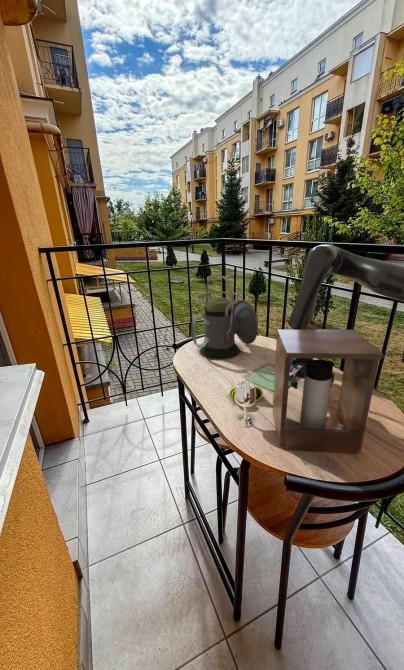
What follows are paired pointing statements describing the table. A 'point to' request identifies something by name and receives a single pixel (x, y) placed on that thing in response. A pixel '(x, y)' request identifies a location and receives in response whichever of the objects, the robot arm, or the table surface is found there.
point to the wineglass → (245, 400)
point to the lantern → (225, 324)
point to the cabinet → (352, 394)
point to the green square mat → (264, 378)
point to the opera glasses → (258, 394)
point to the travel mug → (316, 393)
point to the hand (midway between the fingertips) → (312, 386)
